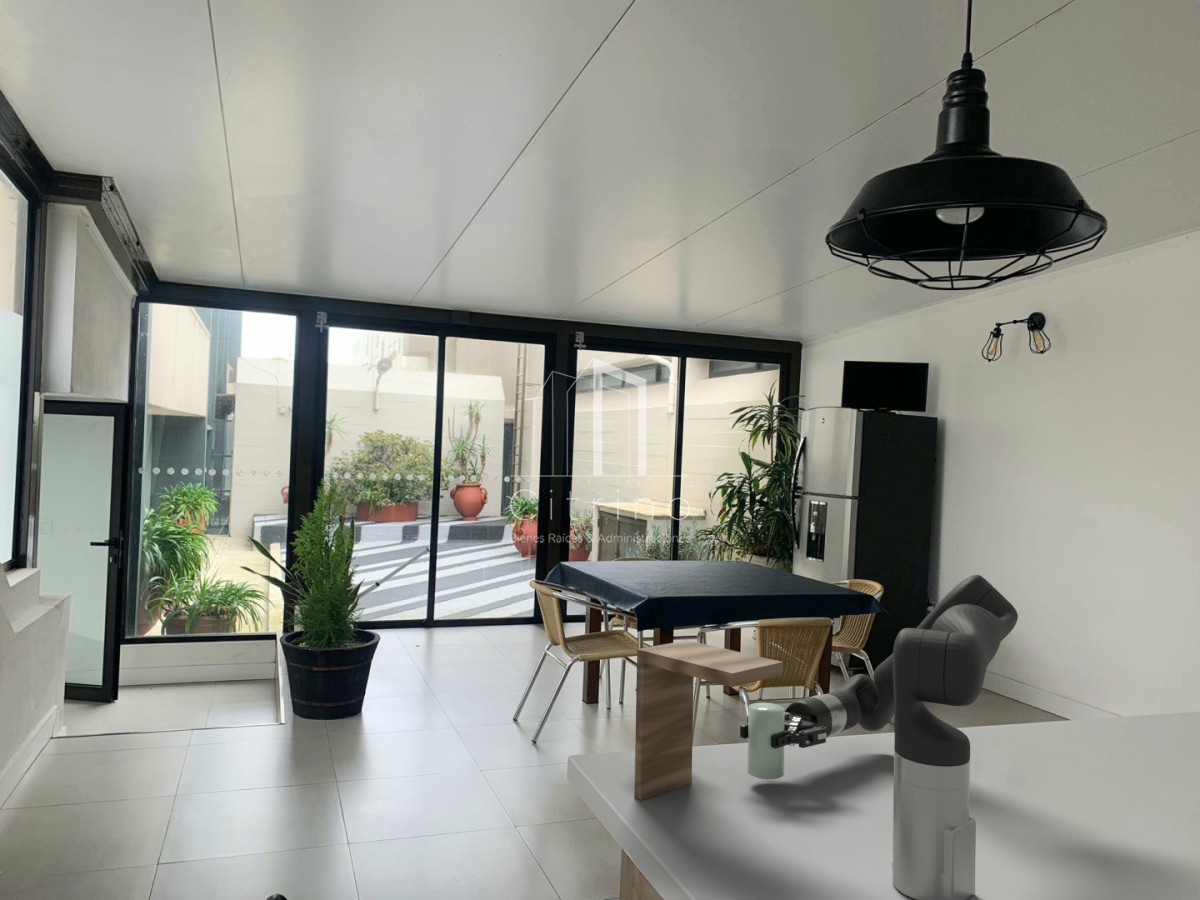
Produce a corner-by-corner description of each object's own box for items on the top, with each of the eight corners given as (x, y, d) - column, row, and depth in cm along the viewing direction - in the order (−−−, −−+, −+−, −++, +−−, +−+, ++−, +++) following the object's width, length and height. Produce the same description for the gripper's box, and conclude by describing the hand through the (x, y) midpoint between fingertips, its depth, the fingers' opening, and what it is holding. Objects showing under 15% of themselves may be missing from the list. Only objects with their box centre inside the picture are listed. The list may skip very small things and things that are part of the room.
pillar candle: (791, 773, 148) (791, 708, 148) (768, 781, 145) (769, 715, 145) (762, 763, 153) (763, 700, 153) (740, 771, 149) (741, 706, 149)
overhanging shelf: (780, 818, 135) (783, 661, 135) (729, 839, 127) (732, 673, 127) (685, 780, 150) (687, 640, 150) (634, 797, 142) (637, 649, 142)
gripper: (783, 689, 164) (724, 705, 153) (851, 706, 153) (792, 725, 142) (783, 729, 164) (723, 748, 152) (850, 749, 153) (792, 771, 142)
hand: (757, 737), depth 147 cm, fingers closed on pillar candle, 6 cm apart
